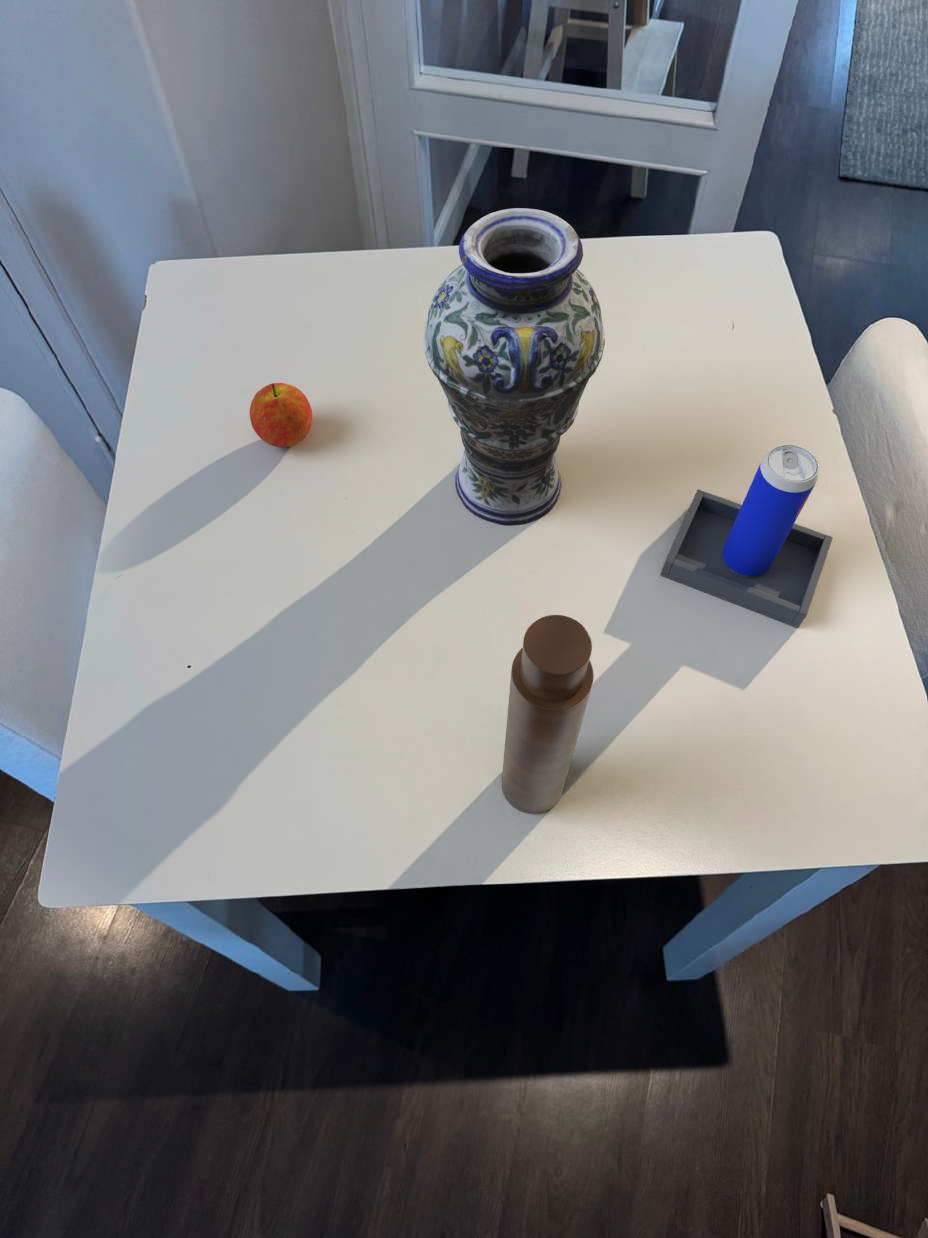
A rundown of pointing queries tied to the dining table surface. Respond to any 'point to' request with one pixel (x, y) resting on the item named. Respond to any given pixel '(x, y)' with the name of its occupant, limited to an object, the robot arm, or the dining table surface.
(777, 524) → the beverage can
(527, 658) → the bottle
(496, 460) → the vase
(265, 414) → the fruit
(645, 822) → the dining table surface
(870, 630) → the dining table surface
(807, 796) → the dining table surface
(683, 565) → the dark gray tray
